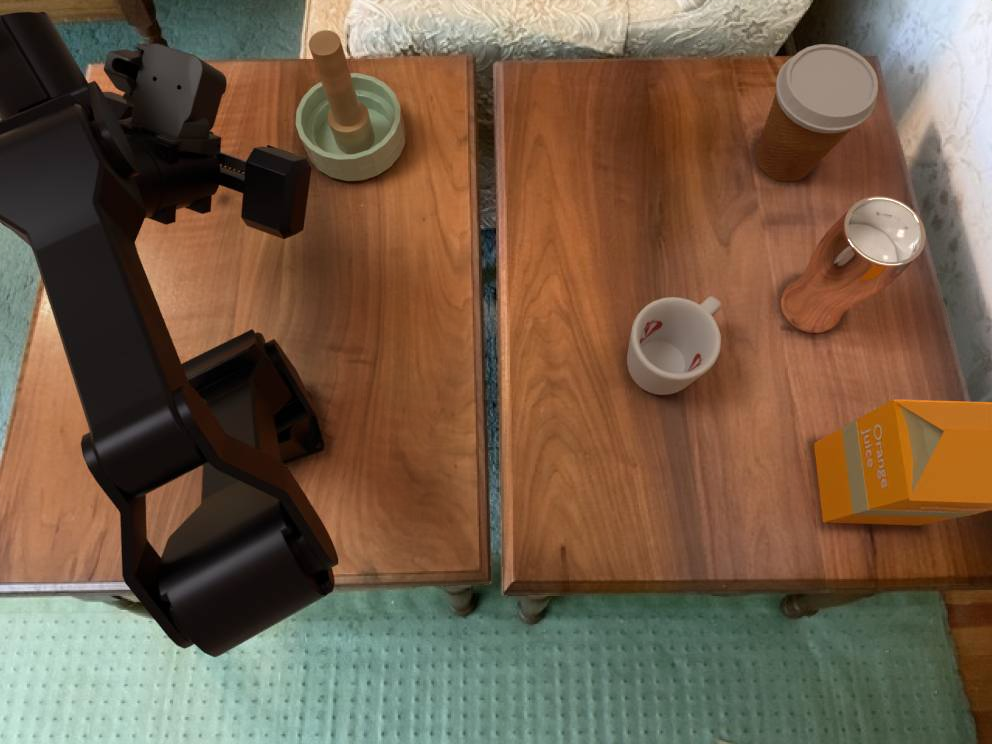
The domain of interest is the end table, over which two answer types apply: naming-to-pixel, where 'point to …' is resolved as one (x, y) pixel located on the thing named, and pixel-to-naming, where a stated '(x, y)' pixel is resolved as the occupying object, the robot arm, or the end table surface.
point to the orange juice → (908, 464)
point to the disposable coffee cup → (814, 109)
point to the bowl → (322, 141)
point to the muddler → (341, 95)
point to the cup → (673, 343)
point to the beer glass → (854, 262)
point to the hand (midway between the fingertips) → (256, 152)
